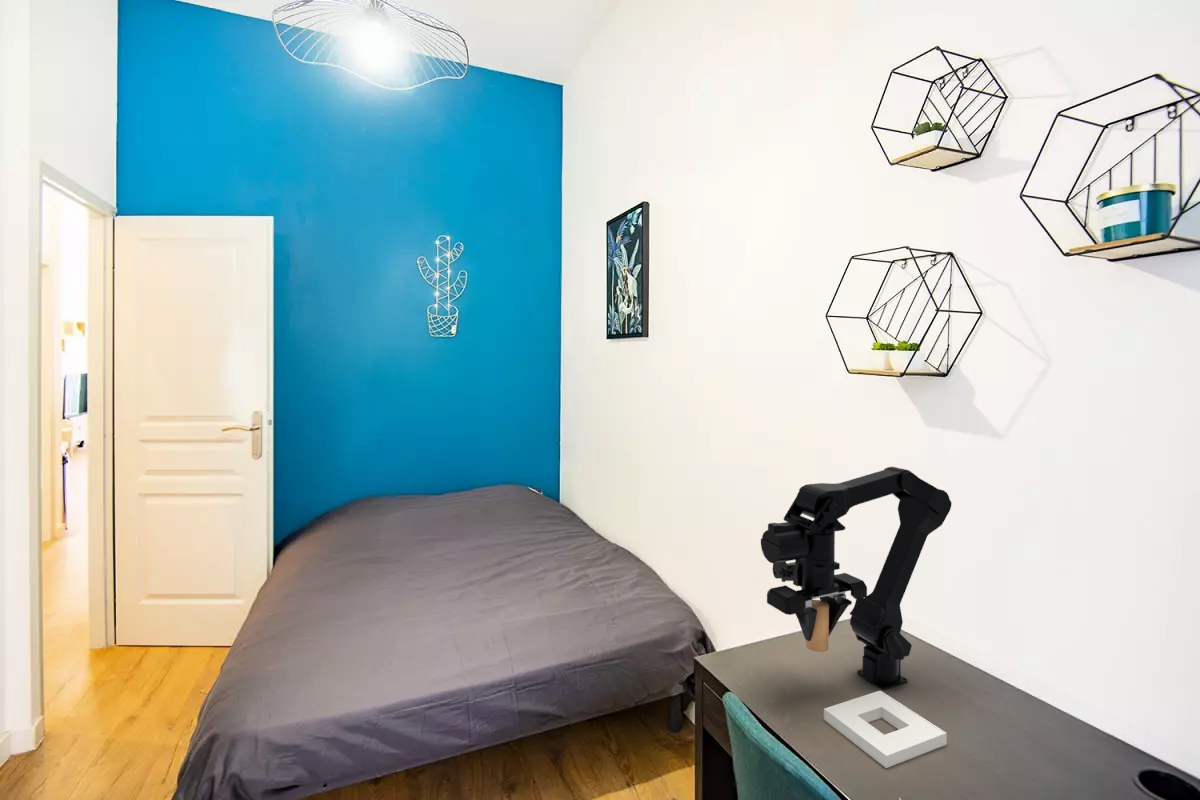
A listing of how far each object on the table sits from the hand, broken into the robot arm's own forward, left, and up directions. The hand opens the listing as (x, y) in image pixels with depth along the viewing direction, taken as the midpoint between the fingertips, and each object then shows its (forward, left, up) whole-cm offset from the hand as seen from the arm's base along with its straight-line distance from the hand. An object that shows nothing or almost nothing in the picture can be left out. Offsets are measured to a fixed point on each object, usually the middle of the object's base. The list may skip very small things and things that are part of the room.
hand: (817, 637), depth 108 cm
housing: (-2, +13, -11) cm, 17 cm away
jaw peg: (0, 0, -2) cm, 2 cm away
